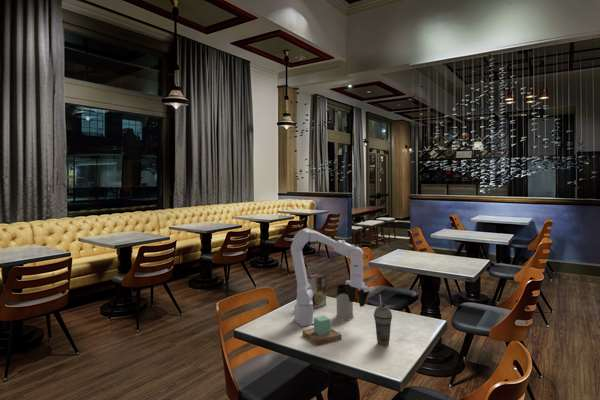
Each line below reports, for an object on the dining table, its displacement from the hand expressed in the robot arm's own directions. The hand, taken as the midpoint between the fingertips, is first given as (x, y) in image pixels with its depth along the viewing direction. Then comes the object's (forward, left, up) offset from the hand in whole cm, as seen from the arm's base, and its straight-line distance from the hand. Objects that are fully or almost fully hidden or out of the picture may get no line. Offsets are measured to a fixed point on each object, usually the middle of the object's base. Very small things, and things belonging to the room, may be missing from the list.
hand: (356, 303), depth 164 cm
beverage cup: (+20, -2, -11) cm, 23 cm away
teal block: (+2, -20, -8) cm, 22 cm away
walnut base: (+2, -20, -10) cm, 23 cm away
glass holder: (-15, +4, -11) cm, 19 cm away
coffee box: (-35, -1, -11) cm, 37 cm away
